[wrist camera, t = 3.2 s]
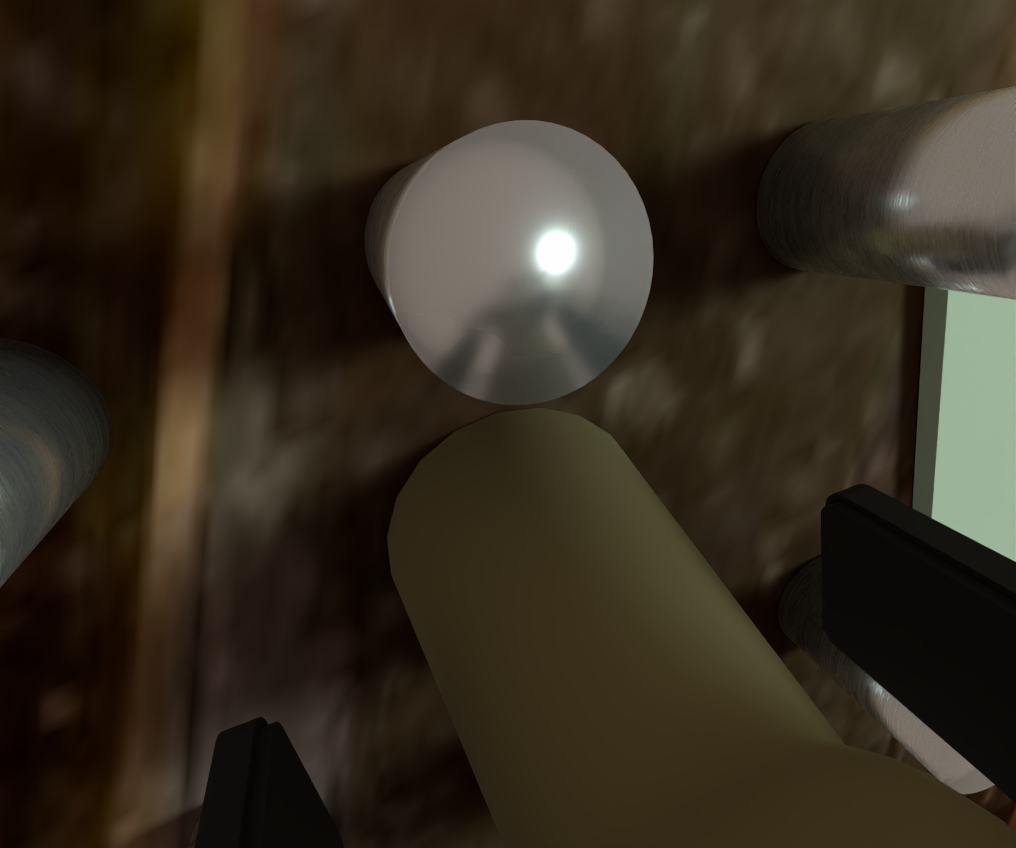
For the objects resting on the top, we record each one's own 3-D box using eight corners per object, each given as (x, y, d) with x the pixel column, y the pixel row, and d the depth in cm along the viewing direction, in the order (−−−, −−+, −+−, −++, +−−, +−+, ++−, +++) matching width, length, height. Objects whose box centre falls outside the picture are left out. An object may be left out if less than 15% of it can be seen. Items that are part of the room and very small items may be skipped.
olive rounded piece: (352, 452, 12) (461, 1738, 2) (628, 376, 13) (1610, 943, 3) (423, 676, 14) (638, 1781, 4) (652, 596, 15) (1248, 1326, 5)
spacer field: (878, 50, 12) (1210, -44, 7) (865, 643, 18) (1040, 787, 14) (-190, 305, 9) (-737, 411, 4) (238, 916, 15) (199, 1220, 11)
